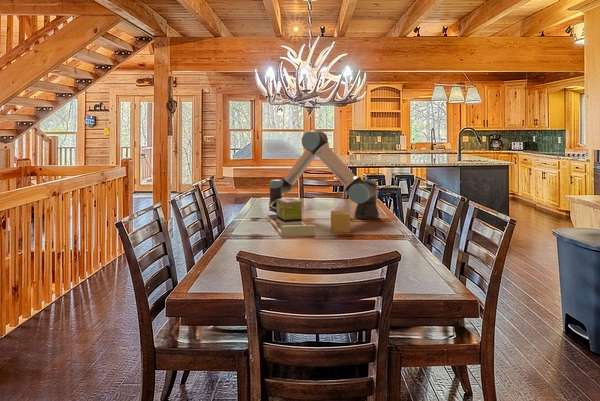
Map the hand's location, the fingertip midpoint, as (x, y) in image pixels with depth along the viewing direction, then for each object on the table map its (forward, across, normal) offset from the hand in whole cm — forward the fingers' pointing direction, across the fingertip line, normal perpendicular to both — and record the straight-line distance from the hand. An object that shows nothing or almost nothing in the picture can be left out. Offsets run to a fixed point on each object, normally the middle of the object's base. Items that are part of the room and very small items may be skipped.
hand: (283, 212), depth 291 cm
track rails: (+5, -2, -7) cm, 8 cm away
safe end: (+30, -2, -6) cm, 31 cm away
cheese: (+28, -26, -7) cm, 38 cm away
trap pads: (-7, -1, -6) cm, 10 cm away
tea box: (+9, -2, -7) cm, 11 cm away
